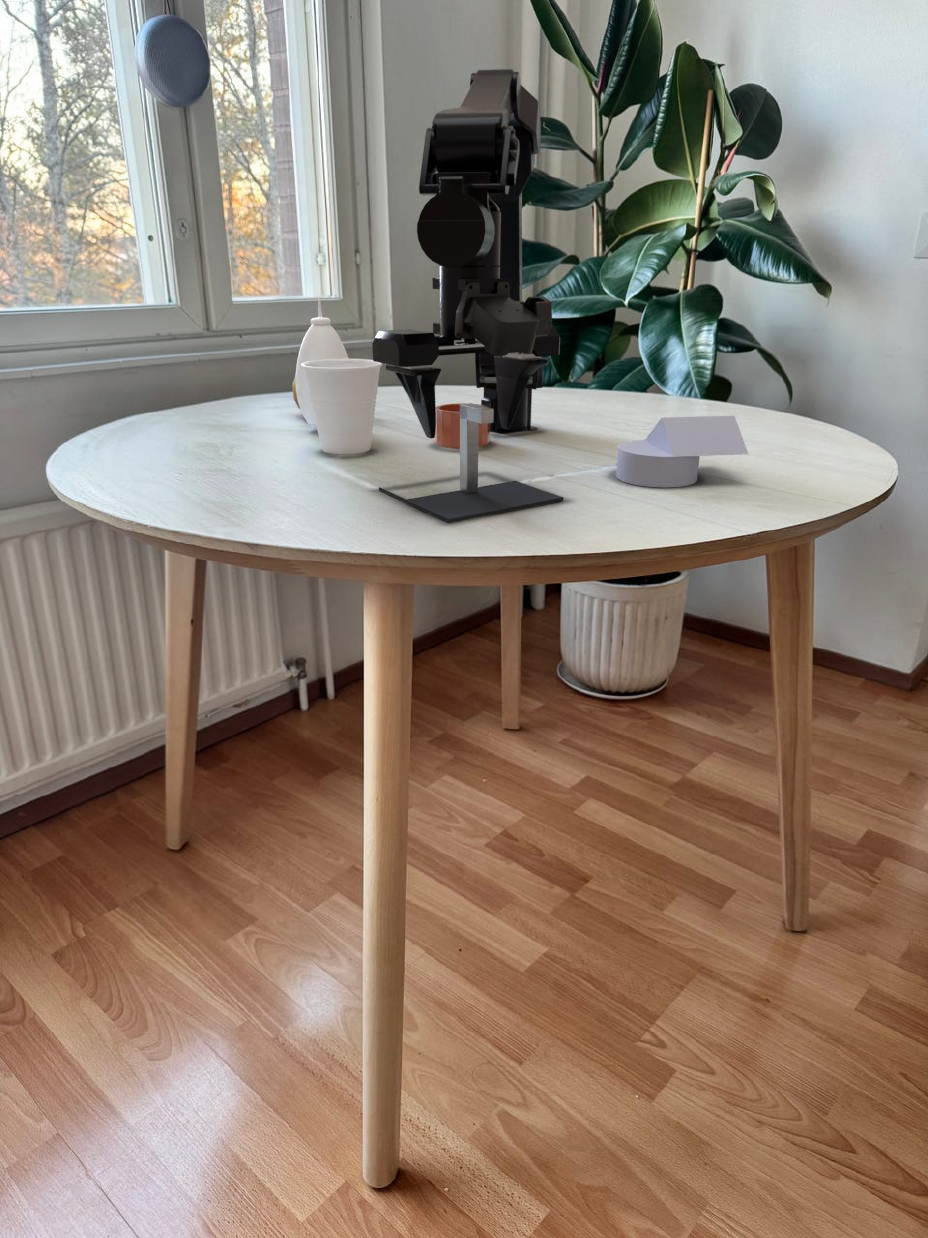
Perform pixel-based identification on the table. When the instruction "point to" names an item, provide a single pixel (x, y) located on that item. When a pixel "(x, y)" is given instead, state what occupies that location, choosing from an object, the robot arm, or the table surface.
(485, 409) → the hex key
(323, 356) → the sauce bottle
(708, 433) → the wedge on round base
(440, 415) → the pencil pot
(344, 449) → the cup
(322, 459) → the table surface
